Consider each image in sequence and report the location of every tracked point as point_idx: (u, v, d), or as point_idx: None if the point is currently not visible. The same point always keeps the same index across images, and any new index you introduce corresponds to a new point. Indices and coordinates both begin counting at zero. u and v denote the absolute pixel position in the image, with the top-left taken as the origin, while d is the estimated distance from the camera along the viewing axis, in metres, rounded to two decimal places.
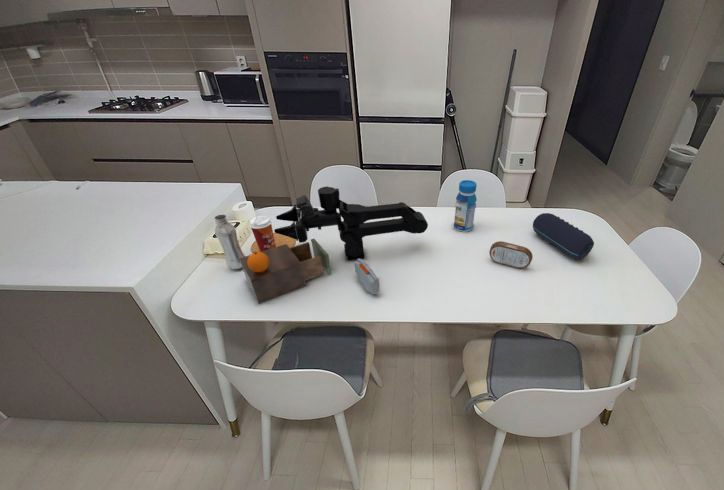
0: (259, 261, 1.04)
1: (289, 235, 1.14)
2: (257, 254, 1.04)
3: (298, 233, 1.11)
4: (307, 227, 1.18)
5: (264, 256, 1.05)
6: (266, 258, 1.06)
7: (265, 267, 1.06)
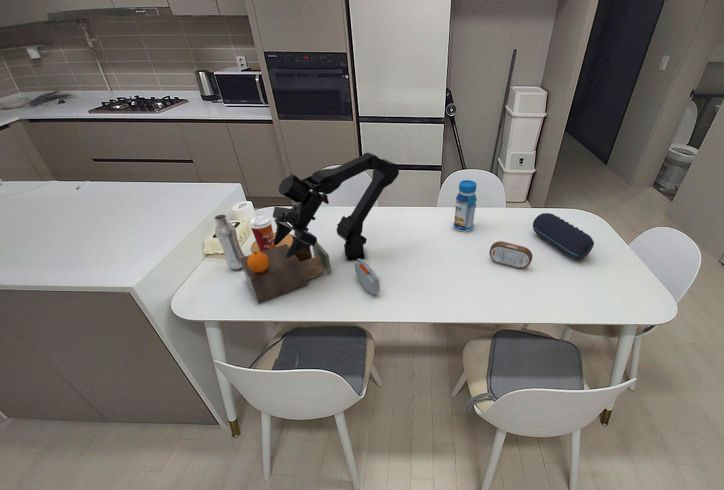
0: (259, 261, 1.04)
1: (301, 248, 1.07)
2: (257, 254, 1.04)
3: (306, 241, 1.03)
4: (305, 228, 1.09)
5: (264, 256, 1.05)
6: (266, 258, 1.06)
7: (265, 267, 1.06)
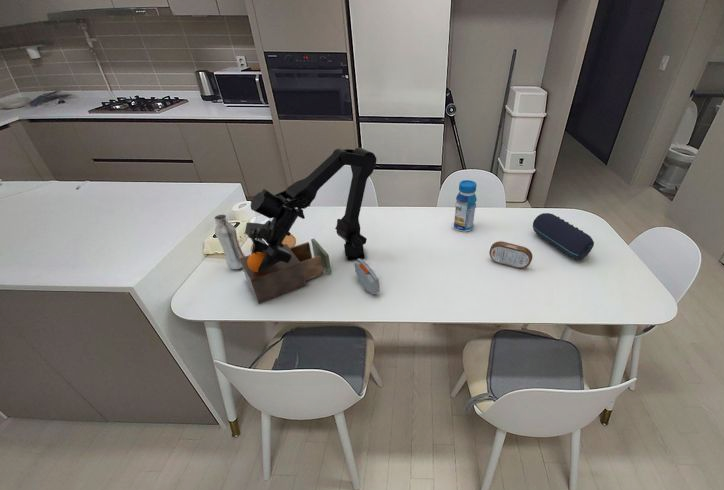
0: (259, 261, 1.04)
1: (273, 263, 1.05)
2: (257, 254, 1.04)
3: (279, 258, 1.00)
4: (279, 243, 1.06)
5: None
6: None
7: None
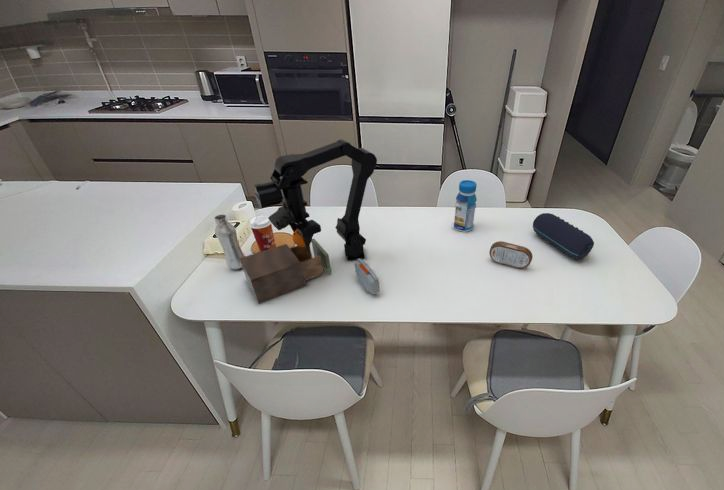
0: (301, 239, 1.12)
1: (311, 234, 1.11)
2: (296, 234, 1.12)
3: (310, 233, 1.06)
4: (305, 216, 1.09)
5: None
6: None
7: None
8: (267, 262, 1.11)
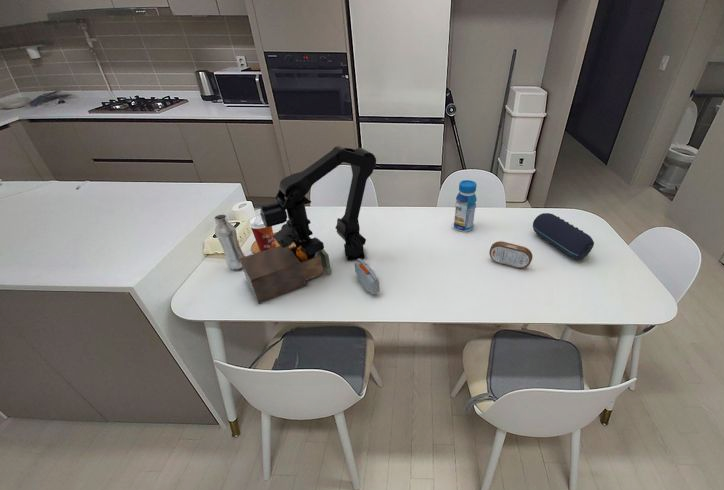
0: (305, 255, 1.16)
1: (314, 251, 1.15)
2: (299, 250, 1.16)
3: (314, 251, 1.09)
4: (308, 234, 1.13)
5: None
6: None
7: None
8: (267, 262, 1.11)
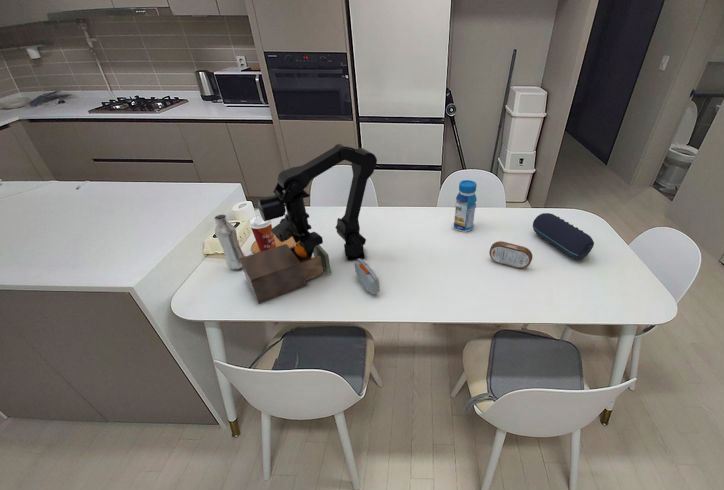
0: (303, 250, 1.15)
1: None
2: (298, 245, 1.15)
3: (312, 245, 1.08)
4: (307, 228, 1.12)
5: None
6: None
7: None
8: (267, 262, 1.11)
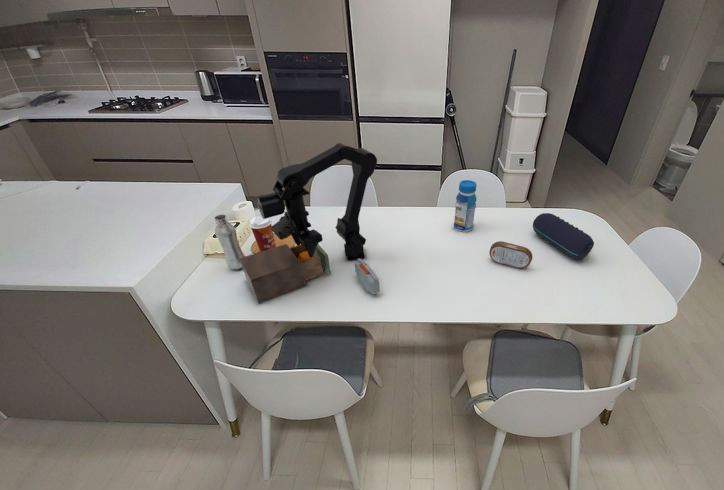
0: None
1: (315, 245, 1.13)
2: (301, 257, 1.18)
3: (312, 243, 1.08)
4: (306, 226, 1.11)
5: (307, 255, 1.18)
6: None
7: None
8: (267, 262, 1.11)
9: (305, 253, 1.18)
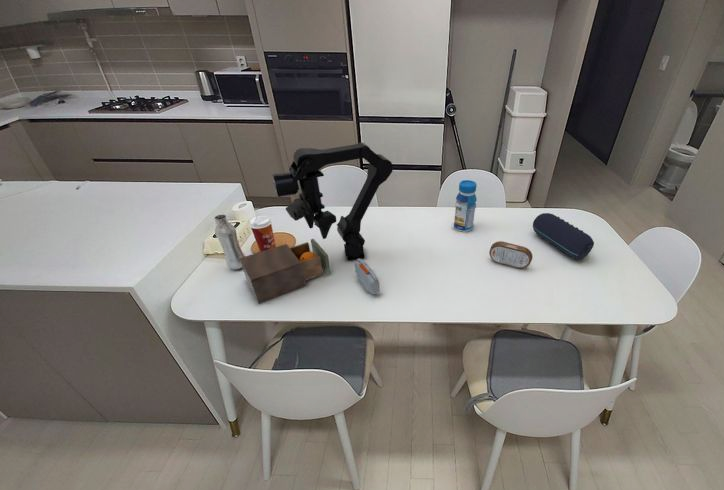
0: None
1: (329, 227, 1.14)
2: (304, 259, 1.17)
3: (326, 224, 1.09)
4: (320, 207, 1.13)
5: None
6: None
7: None
8: (267, 262, 1.11)
9: (308, 255, 1.18)
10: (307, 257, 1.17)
